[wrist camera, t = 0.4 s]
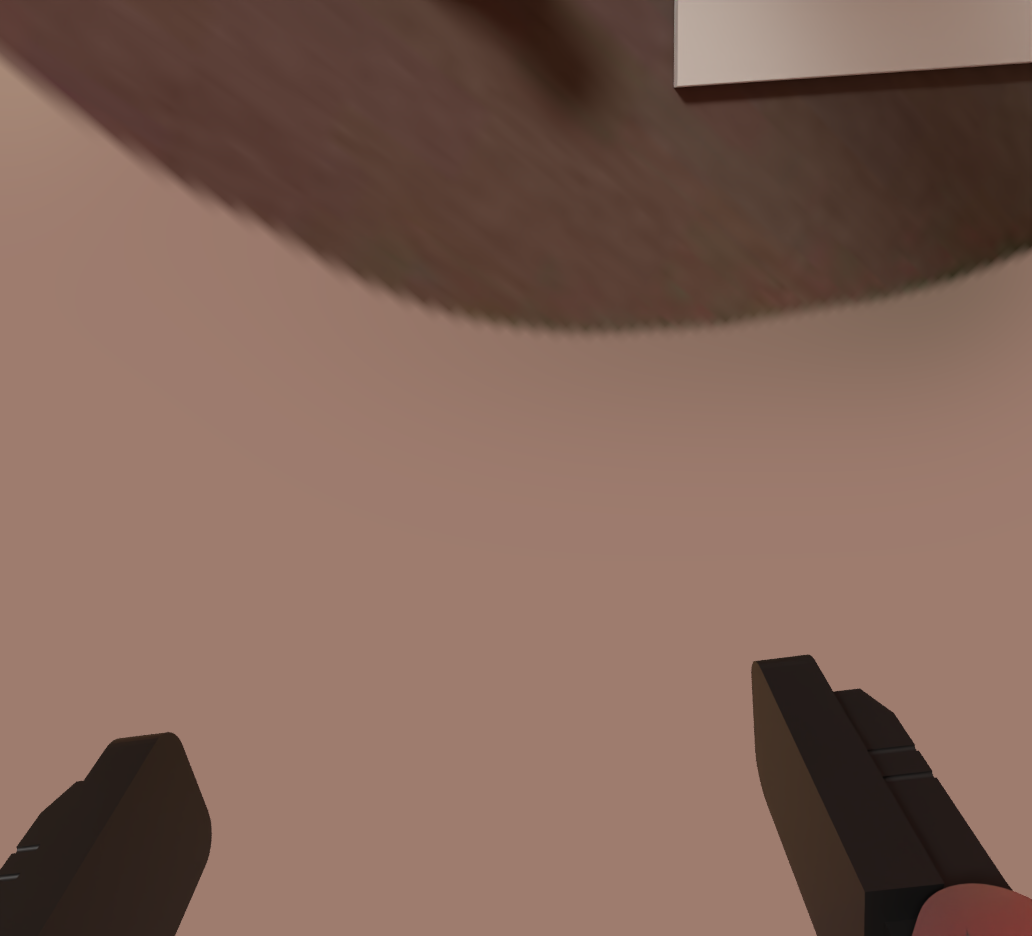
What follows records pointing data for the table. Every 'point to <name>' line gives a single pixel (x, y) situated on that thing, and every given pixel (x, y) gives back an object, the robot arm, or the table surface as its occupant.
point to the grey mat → (843, 37)
